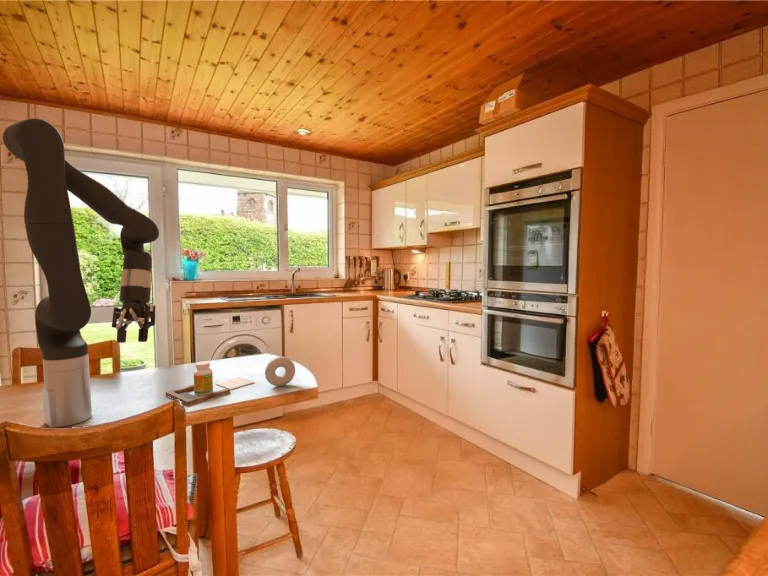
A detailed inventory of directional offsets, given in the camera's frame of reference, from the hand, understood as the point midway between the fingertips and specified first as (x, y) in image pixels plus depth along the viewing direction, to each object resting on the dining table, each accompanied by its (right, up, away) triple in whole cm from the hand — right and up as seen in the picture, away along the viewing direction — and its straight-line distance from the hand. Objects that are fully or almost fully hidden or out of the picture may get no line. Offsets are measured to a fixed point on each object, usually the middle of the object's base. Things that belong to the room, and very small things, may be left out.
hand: (131, 342), depth 111 cm
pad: (+22, -17, +21) cm, 35 cm away
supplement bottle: (+15, -18, +12) cm, 26 cm away
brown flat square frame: (+14, -18, +11) cm, 26 cm away
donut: (+38, -18, +19) cm, 46 cm away
